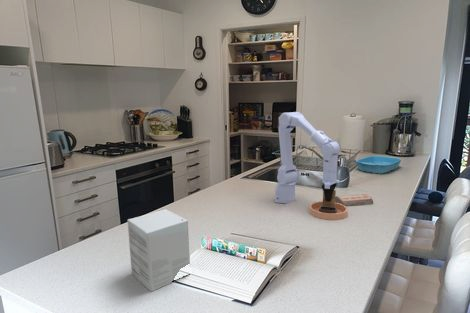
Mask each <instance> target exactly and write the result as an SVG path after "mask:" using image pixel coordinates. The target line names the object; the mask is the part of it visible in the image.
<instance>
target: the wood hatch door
mask: <svg viewBox="0 0 470 313" xmlns="http://www.w3.org/2000/svg"><path fill="white" fill-rule="evenodd" d="M336 192H337V191H336V190H335V189H334V191H333V194H332V199H331V202H328V201H326V200H325V195H324V191H323V190H322V201H323V205H322V206H326V207H335V197H336V196H337V195H336Z"/></svg>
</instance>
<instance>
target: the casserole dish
mask: <svg viewBox="0 0 470 313" xmlns="http://www.w3.org/2000/svg"><path fill="white" fill-rule="evenodd" d="M401 161H402V158H399V157H396V156H395V157H394V156H389V155H368V156H365V157H362V158H361V157H360V158H359V159H356V160H355V162H356V166H357V168H358V170H359V171H361V172H365V171H366V173H371V172H372V173H371V174H377V173H378V174H381V175H382V174H386V173H389V172H391V170H392V171H393V170H395V169H397V168H398V167H399V165H400V164H401ZM378 174H377V175H378Z"/></svg>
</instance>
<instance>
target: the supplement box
mask: <svg viewBox="0 0 470 313" xmlns="http://www.w3.org/2000/svg"><path fill="white" fill-rule="evenodd" d="M127 231H128V244H129V246H128V247H129V255H130V268H131V269H130V270H131V274H132V275H133V276H134V277H135V278H136V279H137V281H139V282H140V283H141V284H143V286H144V287H145V288H147V289H148V291H149V292H154V291H156V290H158V289H160V288H163V287H164V286H167V285H169V284H172V283H173V282H172V281H173V280H174V278H175V276H176V275H177V273H178V272H179V270H180V269H181V268H183V267H185V266H186V265H188V264H190V265H191V256H190V255H191V254H190V242H189V241H190V238H189V234H190V233H189V221H188V219H186V218H184V217H182V216H181V215H179V214H176V213H175V212H172V211H170V210H168V209H167V208H165V209H161V210H158V211H154V212H150V213H148V214H144V215H140V216H136V217H133V218H128V219H127ZM171 282H172V283H171Z"/></svg>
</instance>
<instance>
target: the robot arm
mask: <svg viewBox="0 0 470 313" xmlns="http://www.w3.org/2000/svg"><path fill="white" fill-rule="evenodd" d="M278 124H279V125H278V139H279V150H280V152H279V153H280V161H281V165H280V167H278V169H277V176H276V179H277V183H276V184H275V189H274V198H275V199H274V203H280V204H288V203H292V202H295V200H296V184H297V182H298V180H299V179H300V176H299V172H298V170H297V166H296V165H294V161H293V160H294V159H293V149H292V148H293V147H292V138H291V137H292V136H291V131H293V130H294V128H296V127H299V128H300V129H302V131H304V132H305V133H306V134H307V135H308V136H310V140H311V142H313V144H315V145H316V146H317V147H318V148H319V149H320V152H321V154H322V159H323V161H322V162H323V164H322V165H323V166H322V168H323V169H322V179H321V182H322V184H321V189H322V192H323V191H324V195H325V200H326V201H328V202H331V199H332V194H333V191H334V190H335V189H336V187H337V186H338V184H339V183H340V180H339V179H338V178H337V175H338V158H339V156H338V155H339V154H340V152H341V150H342V149H341V148H342V147H341V145H340V143H339V142H338V141H336V140H332V138H330V137H328V136H327V135H326V134H325V132H324V131H323V130H317V129H315V127H314V126H313V125H312V124H311V123H310V122H308V120H307V119H306V118H305V116H304V114H302V112H300V111H293V112H291V111H290V112H283V113H281V114H280V116H279V117H278Z"/></svg>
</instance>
